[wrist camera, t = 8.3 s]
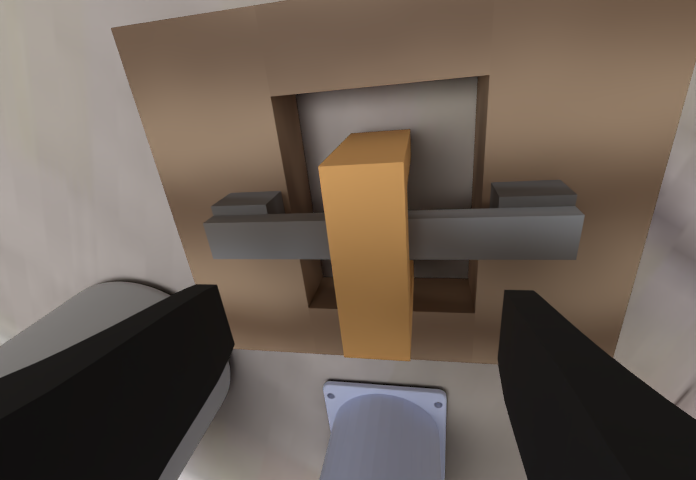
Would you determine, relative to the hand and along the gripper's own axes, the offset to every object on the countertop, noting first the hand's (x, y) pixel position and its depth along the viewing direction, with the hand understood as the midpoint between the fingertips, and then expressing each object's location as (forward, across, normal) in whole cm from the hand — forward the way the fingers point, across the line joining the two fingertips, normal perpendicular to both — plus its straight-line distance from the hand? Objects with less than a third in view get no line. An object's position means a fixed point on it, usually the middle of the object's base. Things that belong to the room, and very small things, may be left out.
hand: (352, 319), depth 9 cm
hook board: (+10, 0, 0) cm, 10 cm away
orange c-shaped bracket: (+8, 0, 0) cm, 9 cm away
